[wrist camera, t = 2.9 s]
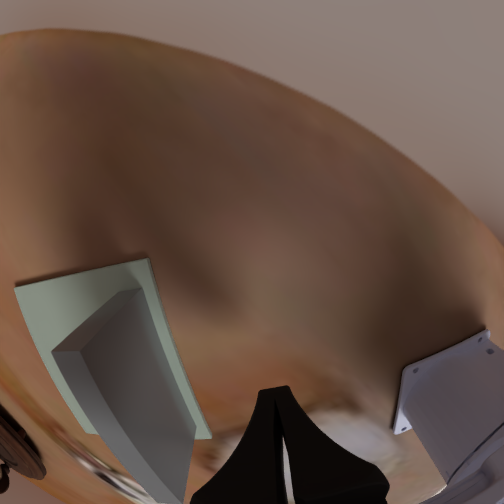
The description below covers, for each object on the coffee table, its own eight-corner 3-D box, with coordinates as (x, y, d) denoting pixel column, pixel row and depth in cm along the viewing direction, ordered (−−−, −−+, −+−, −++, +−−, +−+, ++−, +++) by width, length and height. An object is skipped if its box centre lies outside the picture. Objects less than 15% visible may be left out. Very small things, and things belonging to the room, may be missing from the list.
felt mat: (148, 257, 15) (146, 259, 14) (212, 434, 18) (211, 438, 17) (16, 286, 15) (13, 288, 15) (87, 430, 18) (86, 432, 17)
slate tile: (142, 287, 15) (79, 351, 8) (196, 426, 17) (182, 504, 10) (116, 291, 15) (48, 351, 8) (174, 427, 17) (155, 502, 10)
